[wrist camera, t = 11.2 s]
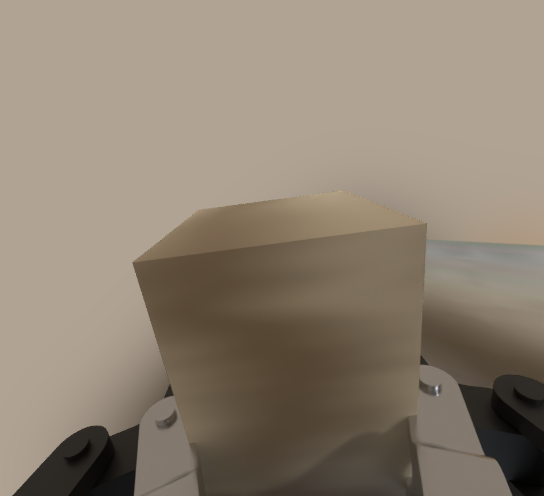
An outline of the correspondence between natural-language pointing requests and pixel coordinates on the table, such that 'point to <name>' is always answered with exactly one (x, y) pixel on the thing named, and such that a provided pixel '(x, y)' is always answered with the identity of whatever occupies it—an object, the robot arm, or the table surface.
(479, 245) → the table surface
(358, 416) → the beech block
